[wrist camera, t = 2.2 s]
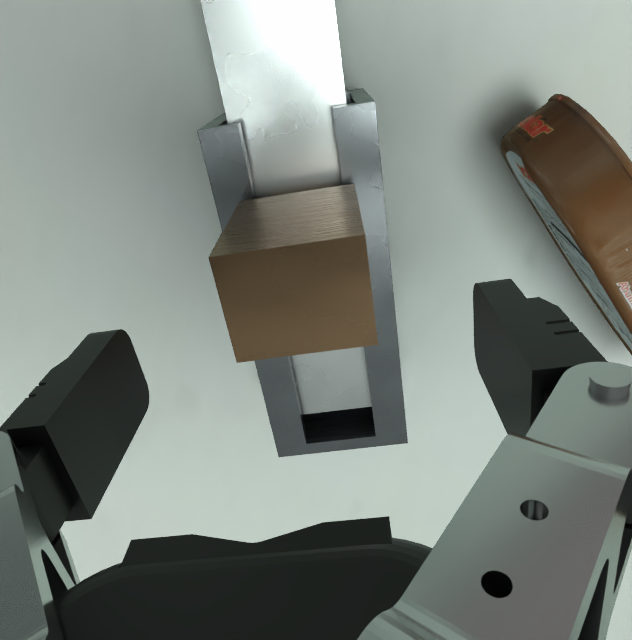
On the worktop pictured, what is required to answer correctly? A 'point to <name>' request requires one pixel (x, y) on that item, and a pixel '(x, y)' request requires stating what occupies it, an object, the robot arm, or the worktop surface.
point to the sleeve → (383, 359)
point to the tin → (580, 199)
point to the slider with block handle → (292, 202)
